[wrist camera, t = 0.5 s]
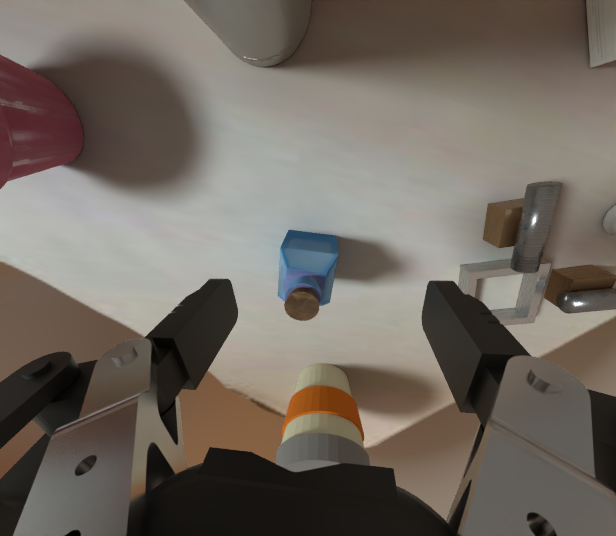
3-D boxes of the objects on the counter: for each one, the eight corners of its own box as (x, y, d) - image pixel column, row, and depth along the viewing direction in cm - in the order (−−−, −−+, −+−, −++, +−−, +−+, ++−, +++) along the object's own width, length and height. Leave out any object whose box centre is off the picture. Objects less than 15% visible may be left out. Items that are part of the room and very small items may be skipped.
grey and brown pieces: (469, 187, 27) (500, 194, 22) (645, 157, 24) (723, 159, 20) (454, 319, 35) (475, 346, 30) (585, 306, 33) (631, 333, 28)
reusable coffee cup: (309, 409, 47) (302, 513, 33) (276, 368, 42) (252, 470, 29) (368, 392, 43) (388, 500, 30) (339, 346, 39) (346, 449, 26)
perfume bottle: (336, 235, 31) (341, 281, 20) (328, 277, 33) (330, 337, 23) (288, 229, 31) (268, 272, 20) (285, 271, 33) (266, 328, 23)
